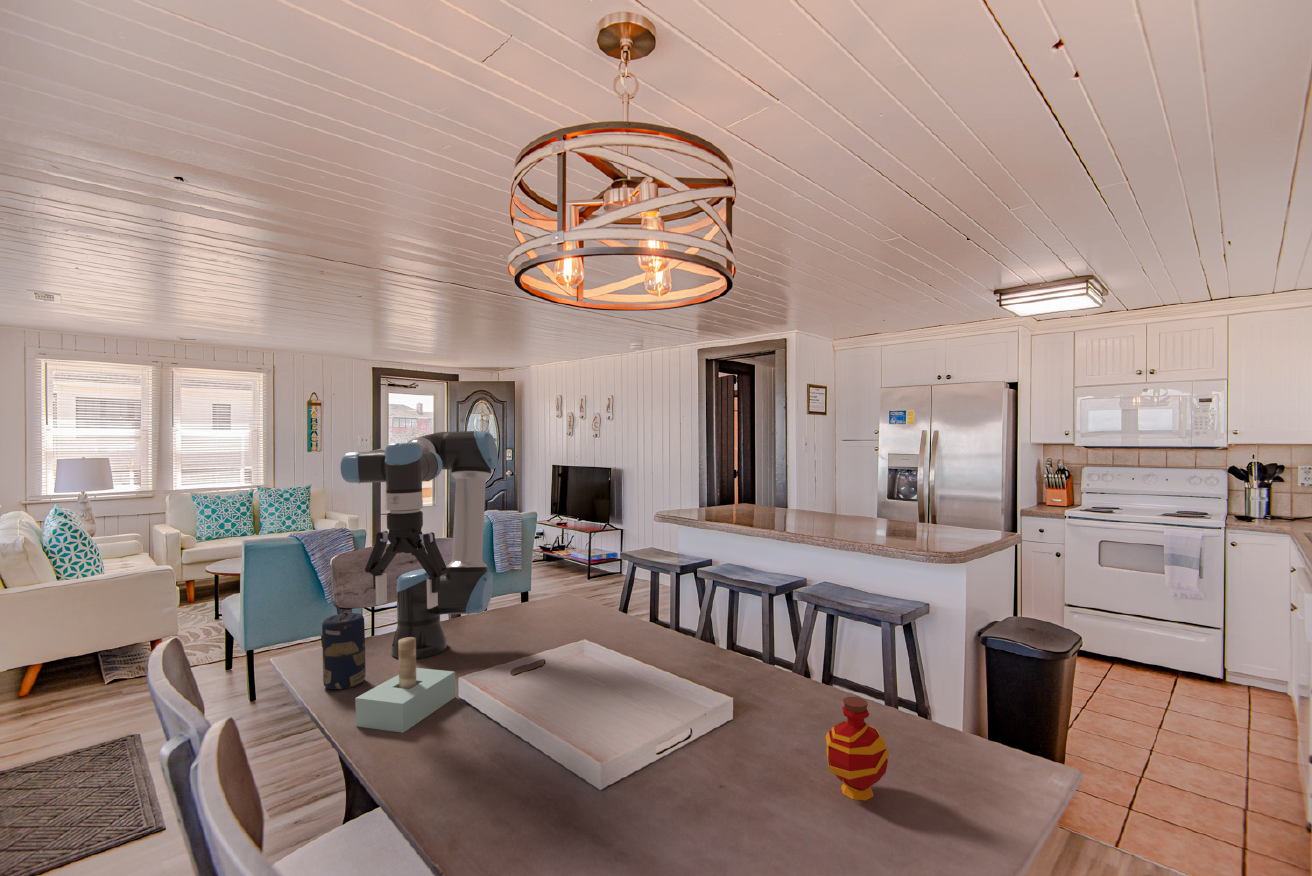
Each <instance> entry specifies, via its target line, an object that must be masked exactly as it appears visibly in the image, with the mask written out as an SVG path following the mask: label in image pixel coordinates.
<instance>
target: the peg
mask: <svg viewBox="0 0 1312 876" xmlns="http://www.w3.org/2000/svg"><path fill="white" fill-rule="evenodd" d="M398 650H399V658H398V675H399V688H403V689H411V688H412V687H414V686H416V668H417V658H416V638H414V637H406V638H402V639H400V640H398Z"/></svg>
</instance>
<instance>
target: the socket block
mask: <svg viewBox="0 0 1312 876" xmlns="http://www.w3.org/2000/svg"><path fill="white" fill-rule="evenodd" d="M455 698H456V671H453V670H442V669H433V668H422V667H416V686H414V687H412V688H411V689H403V688H399V674H397V675H395V676H394V677H392V678H389V679H388V680H386V681H384V682H381V684H379V685H377V686H374V687H372V688H371V689H369V690H368V691H365V692H364V693H362V694H360V695H359V696H357V697H355V699H354V700H355V701H354V702H355V727H357V728H367V729H374V730H380V731H386V732H387V731H388V732H395V733H396V732H397V733H402V734H403V733H406V731H408V730H409V729H411V728H413V726H415V725H417V724H418V723H419V722H421V721H423V720H424V719H426V718H427V717H428V716H430V715H431V714H432V713H434V712H436V711H438V709H441V708H442V707H443V706H445V705H446V704H447V703H449V702H451V701H452V700H453V699H455Z"/></svg>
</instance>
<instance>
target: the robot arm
mask: <svg viewBox="0 0 1312 876" xmlns="http://www.w3.org/2000/svg"><path fill="white" fill-rule="evenodd" d="M498 463H499V453H498V447H497V443H496V441H495V438H494V436H493V434H491V432H489V431H481V430H468V431H439V432H434V433H429V434H425V435H421V436H418V437H414V438H412V439H410V440H408V441H407V442H393V443H392V442H390V443H388V444H387V445H386V447H383V448H379V449H378V448H377V449H374V450H368V451H367V450H366V451H359V450H357V451H352V452H350V451H349V452H346V453H345V454H344V455H343V456H342V458H341V461H340V466H339V467H340V475H341V477H342V479H343V480H344V481H345V482H346V483H350V484H351V483H352V484H353V483H354V484H362V483H363V484H365V483H368V484H369V483H385V484H386V490H385V492H386V494H385V497H386V510H387V511H388V512H387V514H386V529H388V531H387V530H384V531H380V532H377V533H376V535H375V543H374V545H373V548H372V551H371V553H370V556H369V558H368V560H367V563H366V566H365V568H364V571H365V573H369V574H371V575H372V583H373V587H372V588H373V590H375V606H381V605H383V604H386V603H387V602H388V589H387V588H388V583H387V582H388V581H387V580H388V577H387V575H388V574H387V573H386V569H387V568H388V567H389V565H390V563H391V562H392V561H393V560H394V558H395V556H396V555H397V554H402V553H405V554H411V556H414V557H415V559H416V560H417V561H418V563H419V564H420V565H421V567H422V568H421V569H416V570H411V571H408V572H405V573H403V574H401V575H400V576H399V577H398V578H397V581H396V591H395V593H396V617H397V618H396V619H397V620H396V621H397V627H396V630H395V633H394V635H393V640H392V643H391V646H390V656H392V657H393V658H396V659H399V650H398V640H400V639H402V638H406V637H414V638H416V659H422V658H423V659H424V658H428V657H431V656H435V655H438V654H440V653H442V652H443V651H445V650H446V649H447V648H448V639H447V636H446V635H445V631H444V628H443V625H442V623H441V615H471V614H481V613H483V612H485V611H486V609H487V608H488V607H489V604H490V603H491V599H492V594H493V590H494V575H493V573H492V572H490V571H488V564H486V563H485V562H484V561H483V551H484V549H483V548H484V527H485V525H484V524H485V503H486V502H485V501H486V482H487V479H489V477H491V475H492V470H494V469H497V467H498ZM443 470H446V471H447V470H449V471H450V474H451V475H450V476H452V477H453V478H454V480H455V496H454V497H455V498H454V513H453V514H454V516H453V517H454V519H453V532H452V533H453V534H452V535H453V537H452V553H451V562H450V563H448V564H447V565H446V563H445V560H444V558H443V556H442V554H441V551H440V549H439V546H438V544H437V542H436V535H435V533H434V532H433V531H431V532H427V533H423V531H422V528H423V525H424V518H423V517H424V514H423V513H424V512H423V511H422V510H421V509H423V508H424V507H423V499H424V498H423V482H430V481H432V480H435V479H436V478H437V477H438V476H439V475H440V474H441V472H442V471H443ZM388 542H389V544H388V546H387V543H388ZM423 544H424V545H423ZM386 546H387V547H386Z"/></svg>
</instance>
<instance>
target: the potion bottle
mask: <svg viewBox="0 0 1312 876" xmlns="http://www.w3.org/2000/svg"><path fill="white" fill-rule="evenodd" d="M842 702H843V704H844V705H843V706H842V707H841V710H842V714H843V716H845V717H846V720H842V721H840V722H838V723H837V724H835V725H834V726H832V727H831V729H830V730H828V731H827V733H826V735H825V742H826V760H827V766H828V769H829V772H830V774H833V775H834V776H835V777H836V778H837V779H838V780H840V781H841V783H842V785H841V786H840V788H841V793H842V795H844V796H846V797H848V798H849V799H852V800H856V801H869V800H870V799H872V798H873V797H874V793H873V790H872V788H871V787H872V786H873V785H875V784H877V783H879V781H880V780H881V779H882V778H883V777H884V775H885V774H886V773H887V768H888V767H887V766H888V764H889V760H888V757H889V752H888V751H889V750H888V748H887V745H886V741H885V739H884V737H883V736H882V735H881V733H880V732H879V731H878V729H877V728H876V727H874V726H871V725H870V724H868V723H867V722H865V719H867V718H869V716H870V713H869V710H868V705H869V704H868V701H867V699H864V698H861V697H859V696H847V697H844V698H842Z"/></svg>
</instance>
